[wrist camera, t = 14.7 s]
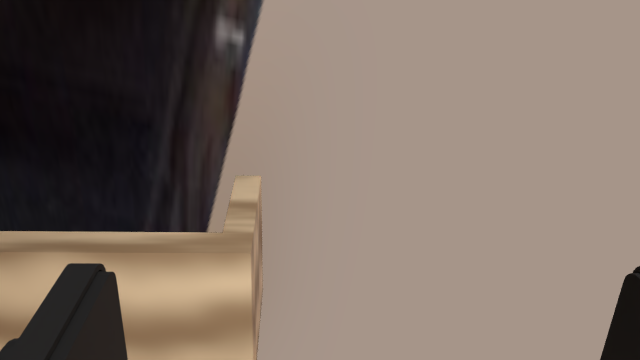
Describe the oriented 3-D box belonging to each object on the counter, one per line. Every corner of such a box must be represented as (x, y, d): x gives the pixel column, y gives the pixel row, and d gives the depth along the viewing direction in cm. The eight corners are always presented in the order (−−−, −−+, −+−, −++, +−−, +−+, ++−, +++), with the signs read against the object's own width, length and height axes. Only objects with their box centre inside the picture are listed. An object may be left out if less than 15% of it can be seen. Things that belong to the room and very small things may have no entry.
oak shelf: (-11, 172, 45) (-105, 251, 34) (260, 175, 46) (250, 253, 35) (16, 290, 49) (-59, 391, 39) (262, 290, 50) (254, 389, 40)
